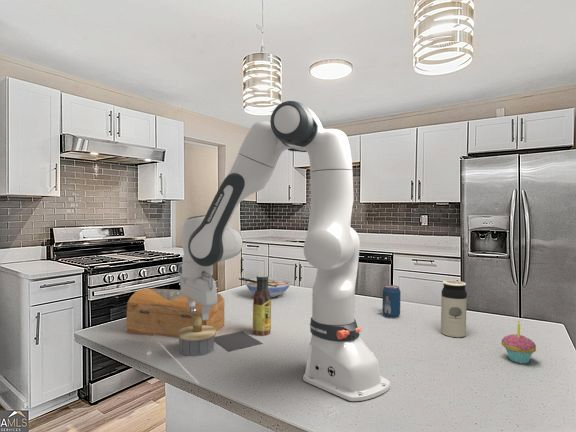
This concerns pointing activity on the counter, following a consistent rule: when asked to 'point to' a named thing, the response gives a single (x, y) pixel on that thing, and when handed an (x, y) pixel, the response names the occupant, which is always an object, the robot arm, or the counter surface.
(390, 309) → the soda can
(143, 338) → the counter surface
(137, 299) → the wooden box
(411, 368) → the counter surface
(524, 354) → the cupcake
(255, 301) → the sauce bottle
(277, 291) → the ramen bowl
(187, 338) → the lid
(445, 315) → the travel mug
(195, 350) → the bowl
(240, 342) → the mat
